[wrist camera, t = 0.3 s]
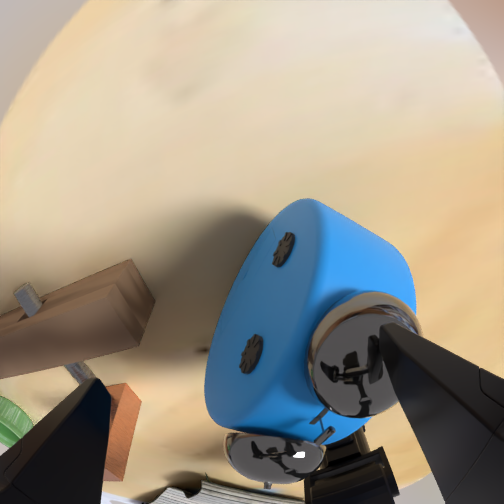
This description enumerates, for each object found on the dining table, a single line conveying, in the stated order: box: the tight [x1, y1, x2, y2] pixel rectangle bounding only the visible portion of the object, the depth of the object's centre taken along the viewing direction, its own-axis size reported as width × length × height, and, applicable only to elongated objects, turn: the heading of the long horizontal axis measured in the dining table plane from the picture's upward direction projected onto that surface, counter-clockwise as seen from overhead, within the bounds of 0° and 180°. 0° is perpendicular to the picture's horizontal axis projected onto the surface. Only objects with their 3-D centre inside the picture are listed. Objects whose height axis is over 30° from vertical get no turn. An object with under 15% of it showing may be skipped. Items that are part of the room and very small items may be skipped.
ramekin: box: [0, 396, 33, 448], centre depth 30 cm, size 9×9×4 cm
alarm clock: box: [204, 198, 424, 489], centre depth 17 cm, size 13×6×15 cm, turn 152°
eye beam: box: [0, 259, 155, 379], centre depth 22 cm, size 4×20×6 cm, turn 110°
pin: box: [14, 282, 142, 481], centre depth 22 cm, size 16×4×10 cm, turn 20°
